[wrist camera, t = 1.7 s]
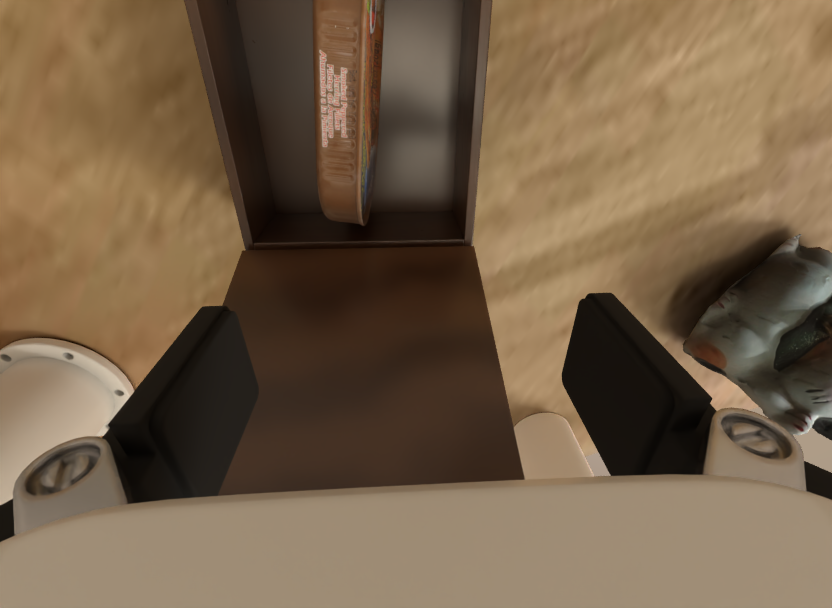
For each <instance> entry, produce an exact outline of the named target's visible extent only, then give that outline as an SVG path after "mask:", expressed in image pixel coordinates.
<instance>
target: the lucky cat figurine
mask: <svg viewBox="0 0 832 608" xmlns="http://www.w3.org/2000/svg"><path fill="white" fill-rule="evenodd" d="M800 236H801V234H799V235H797V236H795V237H793V238H790V239H789V240H787V241H785V242H784V243H783V244H782V245H781V246H780V247H778V248H777V249H776V250H775V251H774V252H773V253H772V254H771V255H770V256H769V257H768V258H767V259H766V260H765V261H764V262H762V263H761V264H760V265H758V266H757V267H756V268H754V269H753V270H752V271H750V272H749V273H748V274H746V275H745V276H744V277H742V278H741V279H740V280H738V281H737V282H735V283H734V284H733V285H731V286H730V287H729V288H728V289H727V290H726V291H725V293H724V294H723V295H722V296H721V297H720V298H719V299H718V300H717V301H716V302H715V303H713V304H712V305H710V306H709V308H708V309H707V310H706V312H705V313H704V314H703V315H702V316H701V317H700V319H699V321H698V322H697V324H696V325H695V327H694V329H693V330H692V332H691V334H690V336H689V337H688V339H687V340H686V341H685V342H684V344H683V351H684V352H685V353H687V354H689V355H690V356H692V357H693V358H694V359H695V360H696V361H697V362H698V363H700V364H701V365H703V366H705V367H706V368H708V369H710V370H712V371H714V372H717V373H719V374H722V375H724V376H725V377H727V378H728V379H729V380H730V381H732V382H733V383H735V384H736V385H738V386H739V387H740V388H741V389H742V390H743V391H744V392H745V393H746V394H747V395H748V396H749V397H750V398H751V399H752V400H753V401H754V402H755V403H756V404H757V405H758V406H759V407H760V408H761V409H762V410H763V413H764V414H765V416H767V417H768V418H769V419H771V420H773V421H774V422H776V423H777V424H779V425H781V426H782V427H783V428H785V429H786V430H787V431H788V432H789V433H791V434H792V435H793V434H795V435H800V434H806V433H807V432H808V430H809V429H811V428H813V429H815V431H817V432H818V433H819V434H821V435H823V436H825V437H826V438H828V439H830V440H832V253H831V252H829V251H828V250H825V249H822V248H821V247H816V248H806V247H804V246H801V245H799V242H798V240H799V237H800Z"/></svg>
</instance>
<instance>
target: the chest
mask: <svg viewBox="0 0 832 608" xmlns="http://www.w3.org/2000/svg"><path fill="white" fill-rule="evenodd" d="M184 1H185V5H186V9H187V13H188V17H189V21H190V25H191V29H192V33H193V37H194V42H195V46H196V50H197V54H198V58H199V62H200V66H201V70H202V74H203V78H204V82H205V86H206V90H207V95H208V99H209V103H210V107H211V111H212V115H213V119H214V123H215V127H216V131H217V135H218V139H219V143H220V148H221V152H222V156H223V160H224V164H225V168H226V172H227V176H228V180H229V184H230V188H231V192H232V196H233V201H234V205H235V209H236V213H237V217H238V221H239V225H240V229H241V233H242V237H243V241H244V245H245V249H246V251H248V250H299V249H351V248H402V247H453V246H472V244H473V231H474V219H475V207H476V194H477V182H478V170H479V158H480V145H481V133H482V121H483V109H484V96H485V84H486V72H487V59H488V47H489V35H490V23H491V10H492V0H384V32H383V52H382V71H381V89H380V107H379V125H378V144H377V159H376V173H375V184H374V191H373V197H372V202H371V208H370V213H369V218H368V221H367V224H366V225H365V226H362V225H360V224H355V223H346V222H338V221H332V220H330V219H328V218H327V217H326V216H325V214H324V213H323V210H322V207H321V204H320V200H319V193H318V185H317V171H316V146H315V107H314V70H313V0H184Z"/></svg>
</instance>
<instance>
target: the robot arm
mask: <svg viewBox="0 0 832 608" xmlns="http://www.w3.org/2000/svg"><path fill="white" fill-rule="evenodd" d="M562 382H563V385H564V387H565V389H566V391H567V393H568V395H569V397H570V399H571V401H572V403H573V405H574V406H575V408H576V410H577V412H578V414H579V416H580V418H581V420H582V422H583V424H584V425H585V427H586V429H587V431H588V433H589V435H590V437H591V439H592V441H593V443H594V444H595V446H596V448H597V450H598V452H599V454H600V456H601V458H602V460H603V462H604V463H605V465H606V467H607V469H608V471H609V473H610V474H611V476H598V477H574V478H551V479H528V480H506V481H484V482H463V483H443V484H422V485H403V486H383V487H363V488H344V489H326V490H308V491H290V492H272V493H254V494H237V495H223V496H218V494H219V491H220V489H221V486H222V484H223V481H224V479H225V477H226V474H227V472H228V469H229V467H230V464H231V462H232V460H233V457H234V455H235V452H236V450H237V447H238V445H239V443H240V440H241V438H242V435H243V433H244V430H245V428H246V426H247V423H248V421H249V418H250V416H251V413H252V411H253V409H254V406H255V404H256V401H257V399H258V394H259V386H258V382H257V379H256V376H255V373H254V369H253V366H252V363H251V359H250V356H249V353H248V349H247V346H246V343H245V339H244V336H243V333H242V329H241V326H240V323H239V319H238V316H237V314H236V312H235V311H230V309H229V308H228V307H227V306H205V307H202V308H201V309H200V310H199V311H198V312H197V314H196V315H195V316H194V317H193V319H192V320H191V321H190V322H189V324H188V325H187V326H186V327H185V329H184V330H183V331H182V332H181V334H180V335H179V336H178V337H177V339H176V340H175V341H174V342H173V344H172V345H171V346H170V347H169V349H168V350H167V351H166V352H165V354H164V355H163V356H162V357H161V359H160V360H159V361H158V362H157V364H156V365H155V366H154V367H153V369H152V370H151V371H150V372H149V374H148V375H147V376H146V377H145V379H144V380H143V381H142V382H141V384H140V385H139V386H138V387H137V389H136V390H135V391H134V389H133V387H132V385H131V383H130V382H129V380H128V379H127V377H126V376H125V375H124V374H123V373H122V372H121V371H120V370H119V369H118V368H117V367H116V366H115V365H114V364H113V363H111V362H110V361H109V360H107V359H106V358H104V357H103V356H101V355H99V354H97V353H96V352H94V351H92V350H89V349H87V348H85V347H82V346H80V345H77V344H74V343H70V342H67V341H62V340H56V339H51V338H30V339H22V340H19V341H16V342H12V343H11V344H9V345H7V346H5V347H4V348H2V349H1V350H0V608H832V473H831V472H828V471H826V470H824V469H821V468H819V467H817V466H815V465H812V464H810V463H808V462H805V461H804V457H803V451H802V449H801V446H800V444H799V443H798V441H797V440H796V439H795V438H794V436H793V435H792V434H791V433H789V432H788V431H787V430H786V429H785V428H783V427H782V426H781V425H779V424H777V423H776V422H774V421H773V420H771V419H769V418H767V417H764V416H762V415H760V414H758V413H755V412H752V411H748V410H745V409H739V408H724V409H720V410H719V411H716V410H715V409H714V408H713V407H712V406H711V404H710V402H711V400H712V397H711V396H710V395H709V394H708V393H707V392H706V391H705V390H704V389H703V388H702V387H701V386H700V385H699V384H698V383H697V382H696V381H695V380H694V379H693V378H692V376H691V375H690V374H689V373H688V372H687V371H686V370H685V369H684V368H683V367H682V366H681V365H680V364H679V363H678V362H677V361H676V360H675V359H674V358H673V357H672V355H671V354H670V353H669V352H668V351H667V350H666V349H665V348H664V347H663V346H662V345H661V344H660V343H659V342H658V341H657V340H656V339H655V338H654V337H653V336H652V334H651V333H650V332H649V331H648V330H647V329H646V328H645V327H644V326H643V325H642V324H641V323H640V322H639V321H638V320H637V319H636V318H635V317H634V316H633V315H632V313H631V312H630V311H629V310H628V309H627V308H626V307H625V306H624V305H623V304H622V303H621V302H620V301H619V300H618V299H617V298H616V297H615V296H614V295H613V294H612V293H590V294H588V295H587V296H586V298H585V299H581V300H580V302H579V305H578V309H577V313H576V317H575V321H574V326H573V330H572V334H571V338H570V342H569V346H568V350H567V354H566V358H565V363H564V367H563V371H562ZM103 435H104V436H103ZM98 436H103V437H102V438H101V437H98Z"/></svg>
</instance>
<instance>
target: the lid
mask: <svg viewBox="0 0 832 608" xmlns="http://www.w3.org/2000/svg"><path fill="white" fill-rule="evenodd" d="M223 306H227V307H228V308H229V309H230V311H235V312H236V314H237V316H238V319H239V323H240V326H241V329H242V333H243V336H244V339H245V343H246V346H247V349H248V353H249V356H250V359H251V363H252V366H253V369H254V373H255V376H256V379H257V382H258V386H259V394H258V399H257V401H256V404H255V406H254V409H253V411H252V413H251V416H250V418H249V421H248V423H247V426H246V428H245V430H244V433H243V435H242V438H241V440H240V443H239V445H238V447H237V450H236V452H235V455H234V457H233V460H232V462H231V464H230V467H229V469H228V472H227V474H226V477H225V479H224V481H223V484H222V486H221V489H220V491H219V494H218V496H223V495H237V494H254V493H272V492H290V491H308V490H326V489H344V488H363V487H383V486H403V485H422V484H443V483H463V482H484V481H506V480H525V477H524V473H523V468H522V464H521V459H520V455H519V450H518V445H517V441H516V436H515V432H514V427H513V423H512V418H511V413H510V409H509V404H508V400H507V395H506V391H505V386H504V381H503V377H502V372H501V368H500V363H499V359H498V354H497V349H496V345H495V340H494V336H493V331H492V327H491V322H490V317H489V313H488V308H487V304H486V299H485V295H484V290H483V285H482V281H481V276H480V272H479V267H478V263H477V258H476V253H475V249H474V246H453V247H402V248H351V249H299V250H248V251H242V253H241V256H240V259H239V261H238V264H237V267H236V270H235V272H234V275H233V278H232V281H231V283H230V286H229V289H228V292H227V295H226V297H225V300H224V303H223Z"/></svg>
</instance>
